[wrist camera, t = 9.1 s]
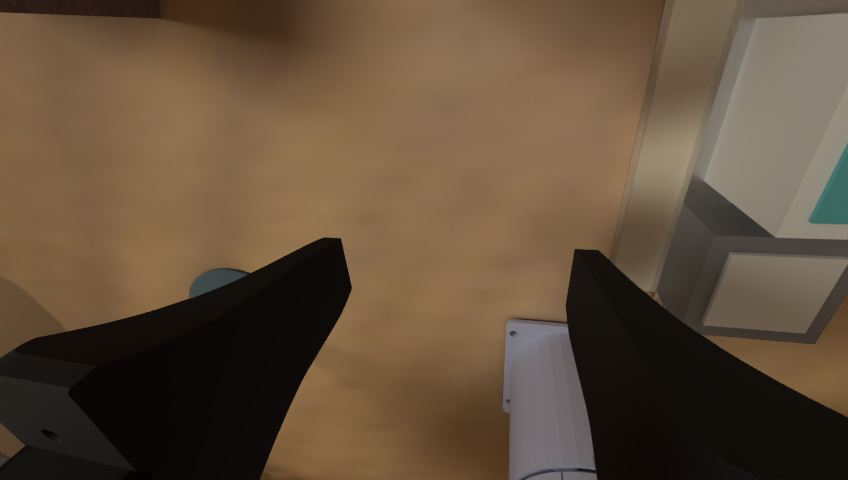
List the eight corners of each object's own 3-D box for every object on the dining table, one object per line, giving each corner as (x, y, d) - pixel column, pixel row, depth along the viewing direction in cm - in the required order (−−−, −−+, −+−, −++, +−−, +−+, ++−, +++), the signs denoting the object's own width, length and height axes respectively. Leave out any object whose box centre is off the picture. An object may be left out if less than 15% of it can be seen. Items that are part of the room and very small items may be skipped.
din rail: (759, 298, 18) (766, 306, 17) (650, 291, 19) (653, 298, 19) (1062, -310, 9) (1095, -330, 8) (811, -253, 10) (827, -268, 9)
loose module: (817, 180, 14) (947, 244, 10) (703, 181, 15) (778, 240, 11) (903, 4, 11) (1142, -12, 7) (756, 18, 12) (888, 11, 8)
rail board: (793, 289, 18) (807, 301, 18) (605, 278, 20) (609, 289, 20) (1119, -302, 9) (1181, -337, 8) (711, -213, 11) (727, -233, 10)
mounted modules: (770, 298, 17) (817, 347, 15) (655, 291, 18) (680, 335, 16) (1077, -296, 8) (1346, -453, 6) (819, -239, 9) (939, -346, 7)
